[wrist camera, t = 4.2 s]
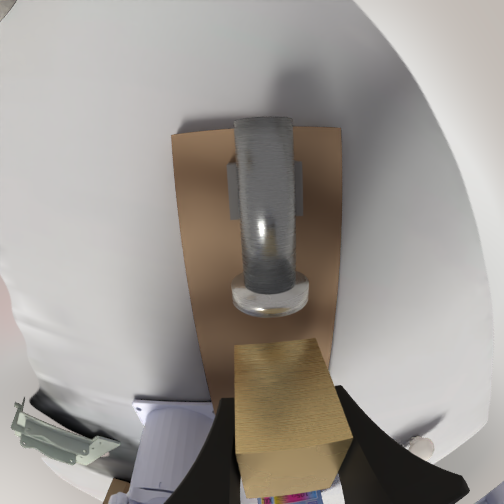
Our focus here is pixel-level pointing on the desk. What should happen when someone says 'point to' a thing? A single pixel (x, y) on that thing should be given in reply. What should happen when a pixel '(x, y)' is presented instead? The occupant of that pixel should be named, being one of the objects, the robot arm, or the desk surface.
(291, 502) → the ink cartridge box
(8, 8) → the coffee cup
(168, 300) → the desk surface
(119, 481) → the photo frame
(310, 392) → the block
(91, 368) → the desk surface
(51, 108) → the desk surface
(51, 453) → the metal bracket
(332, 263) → the stand
